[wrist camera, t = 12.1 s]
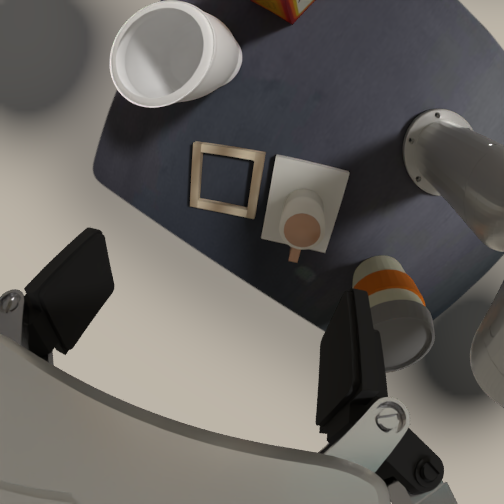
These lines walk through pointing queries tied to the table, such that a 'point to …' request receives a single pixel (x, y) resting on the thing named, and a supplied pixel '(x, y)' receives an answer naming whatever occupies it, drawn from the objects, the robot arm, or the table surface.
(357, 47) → the table surface
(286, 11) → the baking soda box
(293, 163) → the mat
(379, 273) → the reusable coffee cup
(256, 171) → the wooden square frame
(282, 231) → the cylinder with brown end
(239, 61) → the jar
